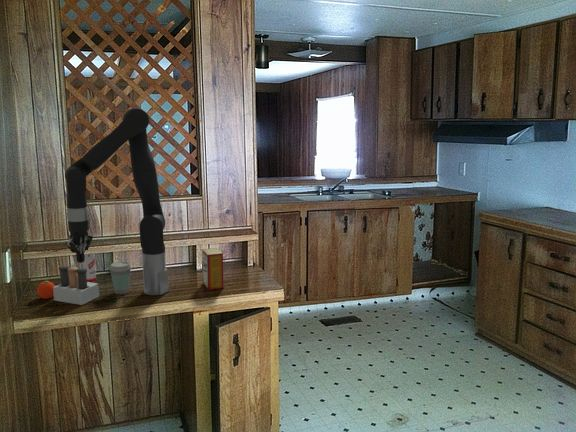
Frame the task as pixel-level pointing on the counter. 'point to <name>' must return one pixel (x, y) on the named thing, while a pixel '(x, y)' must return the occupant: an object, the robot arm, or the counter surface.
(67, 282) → the black plug
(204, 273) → the baking soda box
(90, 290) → the block
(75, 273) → the terracotta plug
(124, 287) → the coffee cup
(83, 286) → the black plug
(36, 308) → the counter surface
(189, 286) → the counter surface
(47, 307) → the counter surface
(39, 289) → the clementine
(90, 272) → the white red carton
